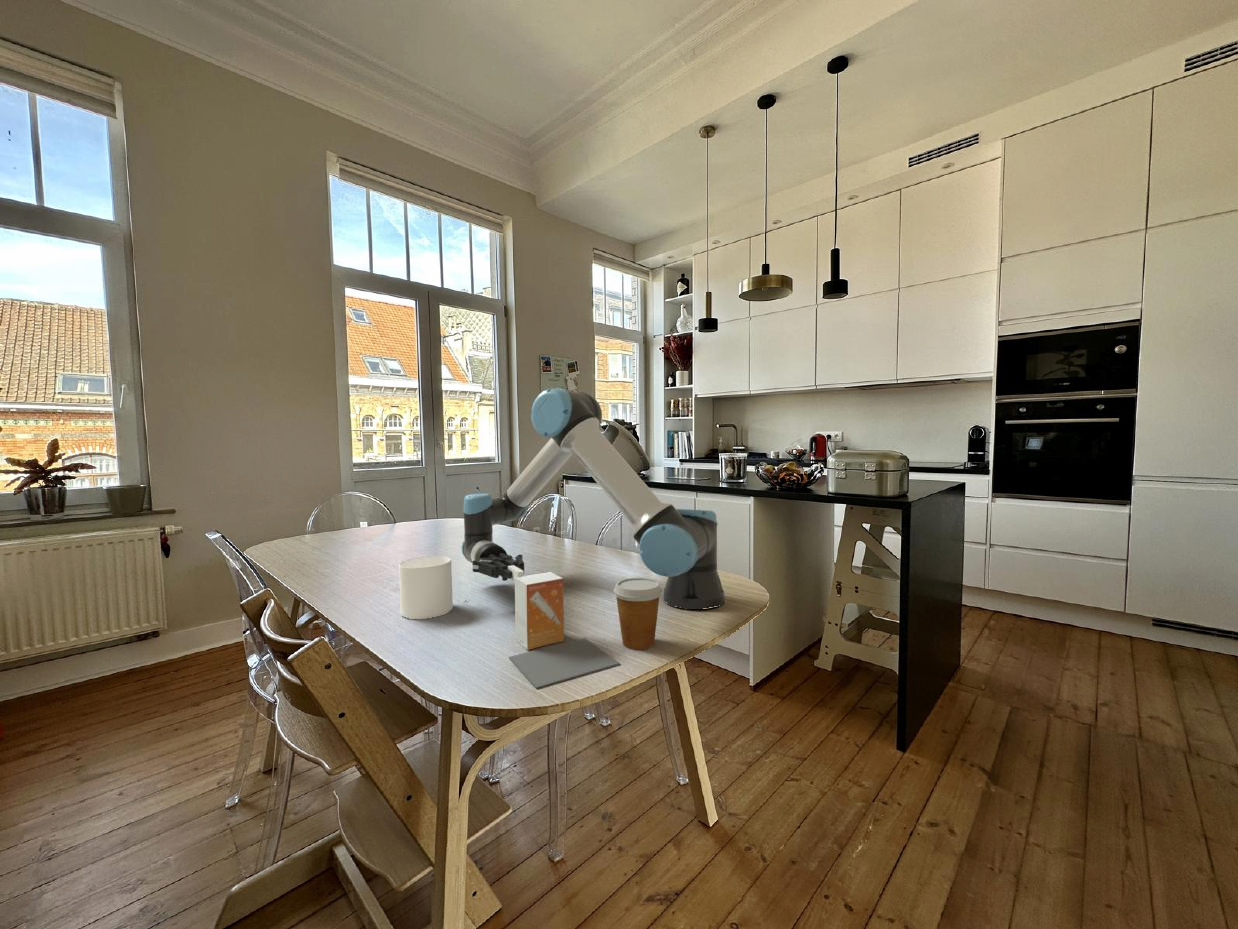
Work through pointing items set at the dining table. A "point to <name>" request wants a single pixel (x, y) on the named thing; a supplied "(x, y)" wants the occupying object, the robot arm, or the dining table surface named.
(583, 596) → the dining table surface
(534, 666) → the rubber mat
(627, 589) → the disposable coffee cup
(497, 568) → the robot arm
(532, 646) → the small box
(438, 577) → the white cylinder
